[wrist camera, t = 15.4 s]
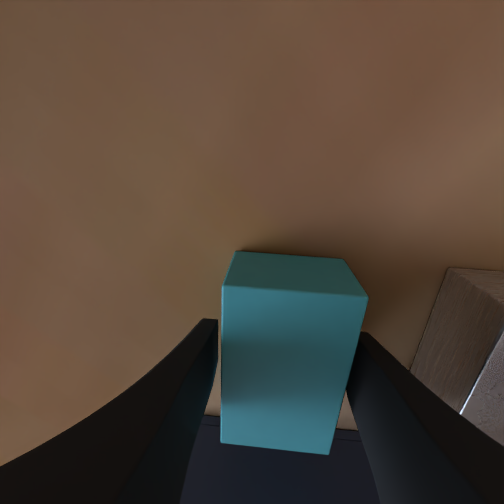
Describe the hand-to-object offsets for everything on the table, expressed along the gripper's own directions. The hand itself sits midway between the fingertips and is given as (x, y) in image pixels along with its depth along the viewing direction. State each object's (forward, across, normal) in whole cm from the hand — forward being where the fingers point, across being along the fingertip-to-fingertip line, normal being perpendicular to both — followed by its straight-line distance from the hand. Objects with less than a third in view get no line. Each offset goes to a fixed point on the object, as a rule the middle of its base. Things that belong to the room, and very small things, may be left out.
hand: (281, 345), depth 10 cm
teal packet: (+1, 0, 0) cm, 1 cm away
